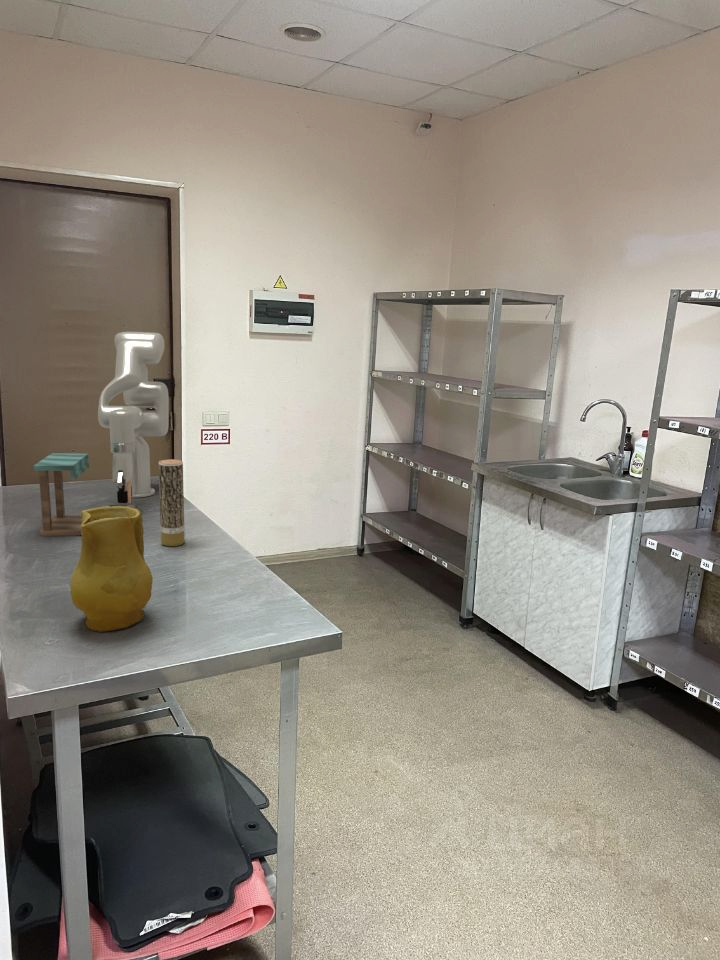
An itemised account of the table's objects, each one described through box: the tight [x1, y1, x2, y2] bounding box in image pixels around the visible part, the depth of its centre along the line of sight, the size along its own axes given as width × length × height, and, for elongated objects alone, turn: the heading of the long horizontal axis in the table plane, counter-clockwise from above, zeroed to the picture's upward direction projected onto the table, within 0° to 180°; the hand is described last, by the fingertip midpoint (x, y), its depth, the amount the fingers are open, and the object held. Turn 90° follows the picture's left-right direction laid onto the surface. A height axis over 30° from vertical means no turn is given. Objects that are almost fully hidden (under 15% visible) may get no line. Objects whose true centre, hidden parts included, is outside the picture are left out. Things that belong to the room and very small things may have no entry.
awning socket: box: [33, 452, 137, 537], centre depth 212 cm, size 18×27×22 cm, turn 98°
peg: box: [118, 480, 132, 504], centre depth 226 cm, size 4×4×14 cm
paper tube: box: [158, 459, 185, 547], centre depth 200 cm, size 7×7×25 cm
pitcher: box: [69, 506, 153, 633], centre depth 149 cm, size 17×19×25 cm
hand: (124, 499), depth 227 cm, fingers open, 6 cm apart
